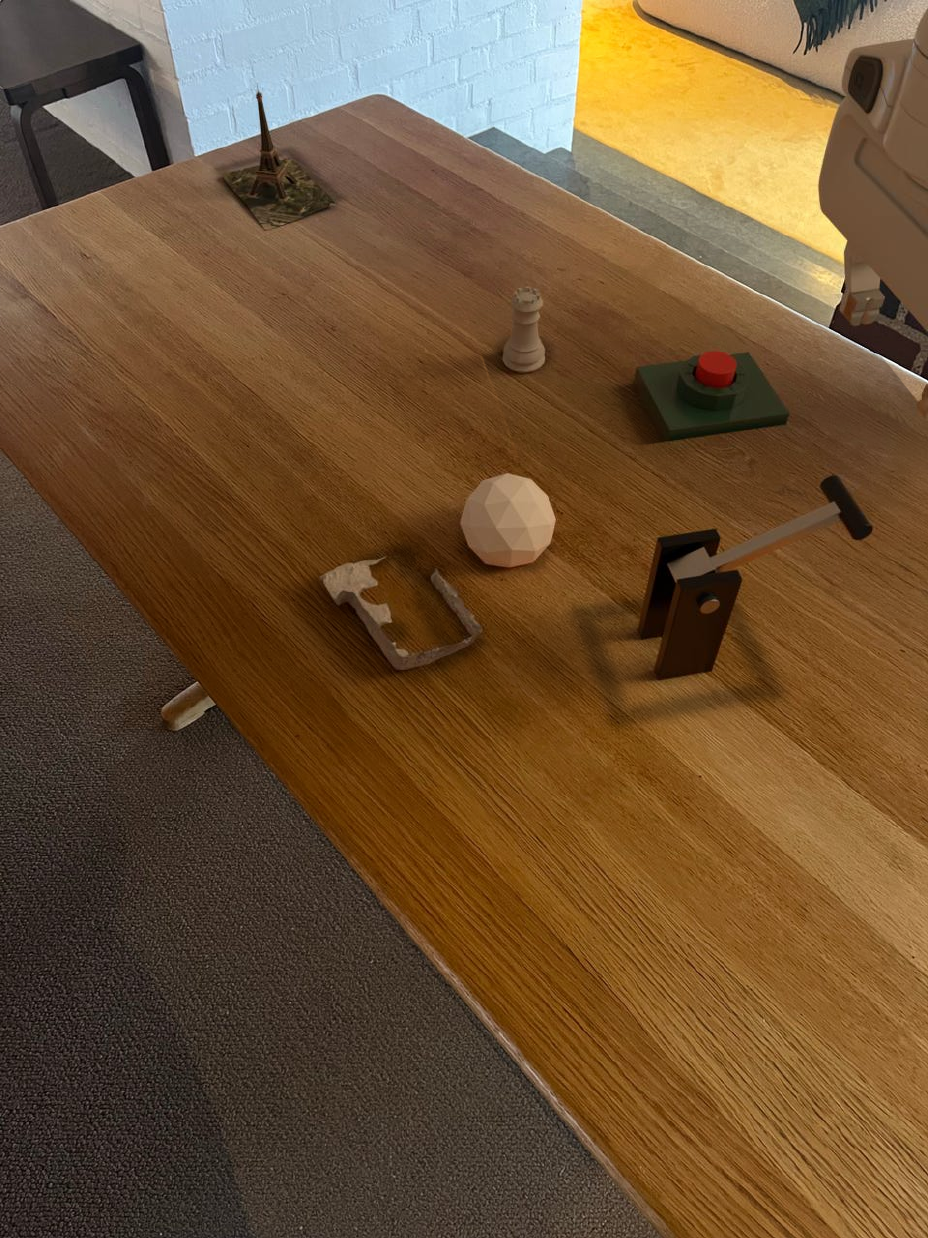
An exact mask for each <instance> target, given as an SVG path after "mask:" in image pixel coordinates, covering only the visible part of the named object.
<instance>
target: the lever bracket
mask: <svg viewBox="0 0 928 1238" xmlns="http://www.w3.org/2000/svg"><path fill="white" fill-rule="evenodd" d="M721 539H722V537H721V535H720V533H719V531H718V529H717V528H710V529H703V530H698V531H691V532H690V531H689V532H685V533H678V534H671V535H664V536H658V537H657V538H656V543H655V548H654V552H653V556H652V560H651V564H650V565H651V566H650V571H649V574H648V580H647V584H646V589H645V593H644V598H643V602H642V607H641V611H640V616H639V620H638V625H637V629H636V631H637V635H638V636H639V639H640V640H641V641H643V640H644V641H645V640H649V639H650V640H651V639H656V638H661V640H660V644H659V648H658V653H657V657H656V660H655V665H654V668H653V673H654V675H655V677H656V680H657V681H663V680H669V679H675V678H680V677H687V676H691V675H692V676H693V675H697V674H698V675H699V674H703V673H708V672H712V671H713V669H714V666H715V663H716V661H717V657H718V654H719V651H720V649H721V645H722V642H723V641H724V636H725V634H726V630H727V627H728V625H729V621H730V619H731V615H732V613H733V610H734V606H735V604H736V600H737V597H738V596H739V595H738V594H739V592H740V588H741V586H742V582H743V577H742V576H741V574H740V572H739V570H738V569H732V570H730V571H725V572H719V573H713V574H707V575H701V576H694V577H688V578H682V579H677V582H675V580H674V578H673V576H672V574H671V572H670V569H669V567H668V565H667V563H669V562H671V561H673V560H676V559H678V558H680V557H682V556H684V555H687V554H689V553H691V552H693V551H695V550H698V549H700V548H702V547H704V548H705V550H706V552H707V554H708V556H709V558H710V557H712V556H714V555H716V554H718V549H719V546H720V542H721Z"/></svg>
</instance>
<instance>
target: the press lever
mask: <svg viewBox="0 0 928 1238" xmlns="http://www.w3.org/2000/svg"><path fill="white" fill-rule="evenodd" d="M819 489H820V491H821V492H822V494H823V495H824V497H825V498H826V500H827V501H828V504H825V505H822V506H821V507H818V508H816V509H813V510H811V511H809V512H808V513H805V514H803V515H801V516H798V517H796V518H794V519H791V520H790V521H787V522H785V523H783V524H780V525H779V526H776V527H774V528H772V529H769V530H767V531H765V532H762V533H761V534H757V536H754V537H752V538H749V539H747V540H745V541H742V542H741V543H739V544H737V545H734V546H732V547H730V548H727V549H725V550H723V551H721V552H719V553H716V555H714V556H712V557H710V558H709V556H708V554H707V552H706V550H705V548H704V547H702V548H700V549H698V550H695V551H693V552H691V553H689V554H687V555H684V556H682V557H680V558H678V559H676V560H673V561H671V562H669V563H667V565H668V567H669V569H670V572H671V574H672V576H673V578H674V580H675V582H677V579H682V578H688V577H694V576H701V575H707V574H713V573H719V572H725V571H731V570H735V569H737V568H739V567H741V566H743V565H745V564H748V563H749V562H752V561H754V560H756V559H759V558H761V557H763V556H765V555H768V554H771V553H772V552H775V551H777V550H778V549H779V550H780V549H781V548H784V547H786V546H788V545H790V544H792V543H794V542H797V541H799V540H801V539H804V538H806V537H808V536H810V535H812V534H815V533H817V532H820V531H822V530H824V529H826V528H828V527H830V526H833V525H834V524H837V523H840V522H841V523H842V525H843V526H844V528H845V529H846V531H847V532H848V534H849V536H850V538H851V539H852V540H854V541H862V540H864V539H866V538H868V537H869V536H870V535H871V534H872V532H873V530H874V527H873V525H872V523H871V522H870V520H869V519H868V518H867V516H866V515H865V513H864V512H863V510H862V509H861V507H860V506H859V504H858V503H857V501H856V500H855V499H854V497H853V495H852V494H851V492H850V491H849V489H848V488H847V487H846V485H845V484H844V482H843V480H842V479H841V478H840V476H839V475H836V474H832V475H829V476H826V477H825V478H823V480H822V481H821V482H820V484H819Z"/></svg>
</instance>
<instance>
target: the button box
mask: <svg viewBox="0 0 928 1238" xmlns="http://www.w3.org/2000/svg"><path fill="white" fill-rule="evenodd" d="M701 355H702V354H698V355H697V354H696V355H693V356H691V357H690V358H688V359H686V360H685V359H684V360H678V361H670V362H663V363H656V364H648V365H641V366H636V367H635V373H634V379H633V386H634V388H635V390H636V392H637V394H638V396H639V399H640V400H641V403H642V404H643V406H644V408H645V410H646V412H647V414H648V416H649V418H650V419H651V422H652V424H653V426H654V427H655V429H656V431H657V433H658V435H659V437H660V439H661V441H662V442H663V443H668V442H673V441H682V440H689V439H695V438H701V437H703V438H704V437H708V436H709V437H711V436H717V435H723V434H729V433H738V432H743V431H745V432H746V431H751V430H752V431H753V430H757V429H764V428H771V427H779V426H786V425H787V422H788V419H789V416H790V412H789V410H788V408H787V407H786V405H785V404H784V402H783V401H782V400H781V398H780V397H779V395H778V394H777V392H776V391H775V389H774V388H773V386H772V384H771V383H770V382H769V379H767V377H766V376H765V374H764V373H763V371H762V369H761V368H760V366H759V365H758V363H757V362H756V360H755V359H754V358H753V356H752V355H751V352H749V351H746V352H745V351H744V352H739V353H732V354H729V355H730V356H732V357H733V358H734V359H735V361H736V363H737V366H736V370H735V374H734V378H733V381H732V383H731V384H730V385H729V386H727V387H721V388H713V387H708V386H705V385H703V384H701V383H700V382H698V381H697V380H696V377H695V373H696V369H697V364H698V360H699V357H700V356H701Z"/></svg>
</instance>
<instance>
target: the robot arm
mask: <svg viewBox="0 0 928 1238" xmlns="http://www.w3.org/2000/svg"><path fill="white" fill-rule="evenodd" d="M841 90H842V92H843V93H844V94H845V97H844V98H843V99H842V100H841V102H840V104H839V105H838V107H837V110H836V112H835V115H834V118H833V121H832V124H831V127H830V130H829V135H828V139H827V143H826V146H825V150H824V154H823V158H822V163H821V167H820V171H819V176H818V184H817V185H818V186H817V187H818V188H817V190H818V191H817V192H818V201H819V202H818V203H819V209H820V211H821V213H822V214H823V215H824V216H825V217H826V218H827V220H829V222H830V223H831V224H832V225H833V226H834V228H836V230H837V231H838V232H839V233H840V234H841V235H842V236H843V238H844V239H845V240H846V243H845V246H844V249H843V268H844V286H845V290H844V293H843V297H842V299H841V301H840V302H841V303H840V306H839V312H840V313H841V314H842V315H843V317H844V318H845V319H846V321H847V322H848V323H849V324H850V325H851V326H854V327H859V326H860V325H865V326H866V325H870V324H873V323H875V321H876V320H877V319H878V318H879V315H880V309H881V308H882V307H883V305H884V302H885V298H886V296H885V295H884V294H883V293H882V292H881V290H880V285H881V281H882V282H883V283H884V285H886V286H887V288H888V289H889V290H890V291H891V293H892V294H893V295H894V296H895V297H896V298H897V299H898V300H899V302H901V304H902V305H903V306H904V307H905V308H906V309H907V311H909V313H910V314H911V315H912V316H913V317H914V318H915V319H916V321H917V322H918V323H919V324H920V326H922V328H923V329H924V330H925V331H926V332H927V333H928V7H927V8H926V10H925V11H924V13H923V15H922V17H921V19H920V20H919V23H918V25H917V27H916V31H915V33H914V37H913V38H909V39H908V38H907V39H901V40H894V41H888V42H887V41H886V42H881V43H875V44H870V45H863V46H859V47H858V46H857V47H854V48H853V49H851V50H850V51H849V53H848V55H847V57H846V60H845V63H844V67H843V71H842V75H841ZM916 407H917V409H918V410H919V412H920V413H921V415H922V416H923V417H924V419H926V421H928V383H926V384H925V386H924V388H923V391H922V393H921V399H919V400H918V402H917V404H916Z"/></svg>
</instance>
